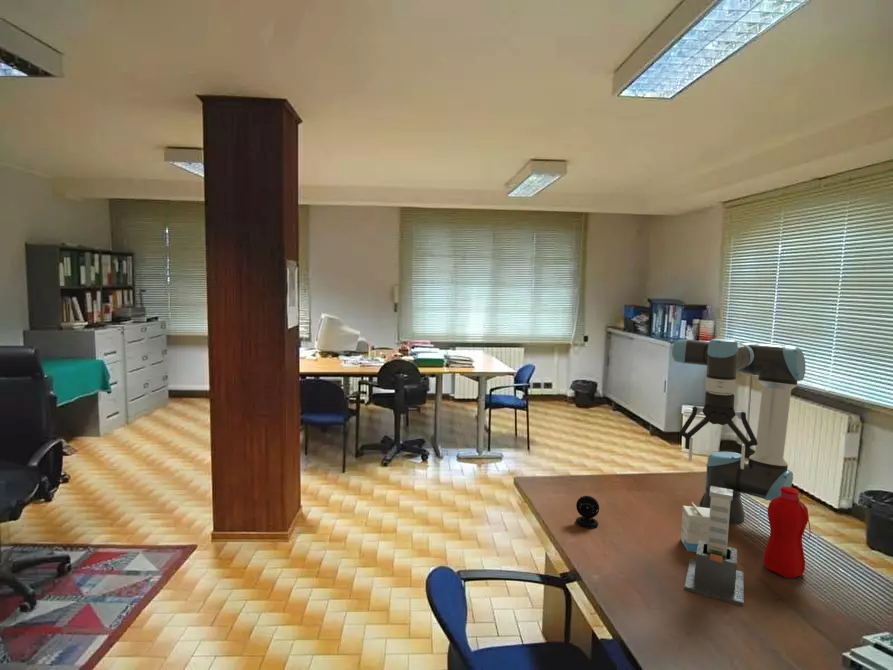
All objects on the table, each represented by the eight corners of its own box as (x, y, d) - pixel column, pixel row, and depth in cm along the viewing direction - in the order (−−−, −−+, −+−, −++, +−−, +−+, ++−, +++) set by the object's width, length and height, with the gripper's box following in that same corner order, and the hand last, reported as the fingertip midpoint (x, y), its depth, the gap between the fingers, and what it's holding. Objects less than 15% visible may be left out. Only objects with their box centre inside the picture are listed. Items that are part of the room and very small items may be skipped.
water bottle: (796, 585, 147) (804, 498, 145) (758, 566, 157) (764, 485, 155) (815, 577, 152) (822, 493, 150) (776, 560, 161) (783, 480, 159)
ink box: (715, 554, 164) (718, 512, 163) (686, 551, 165) (689, 509, 164) (707, 542, 172) (710, 502, 171) (680, 539, 174) (682, 499, 173)
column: (705, 551, 151) (710, 485, 149) (728, 556, 148) (733, 489, 146) (704, 559, 146) (709, 492, 144) (727, 565, 143) (732, 496, 141)
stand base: (690, 561, 158) (692, 529, 158) (743, 575, 152) (745, 541, 151) (684, 589, 143) (686, 554, 142) (743, 606, 136) (746, 569, 135)
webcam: (573, 526, 181) (575, 497, 180) (576, 517, 188) (578, 490, 187) (597, 530, 178) (598, 501, 177) (599, 522, 185) (600, 494, 184)
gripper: (672, 390, 155) (668, 460, 157) (771, 399, 143) (765, 475, 145) (674, 386, 161) (670, 453, 163) (769, 394, 149) (764, 467, 151)
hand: (715, 463), depth 154 cm, fingers open, 13 cm apart
